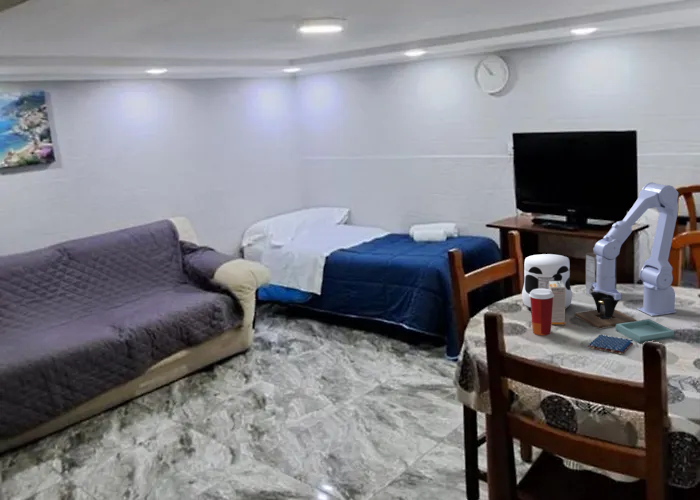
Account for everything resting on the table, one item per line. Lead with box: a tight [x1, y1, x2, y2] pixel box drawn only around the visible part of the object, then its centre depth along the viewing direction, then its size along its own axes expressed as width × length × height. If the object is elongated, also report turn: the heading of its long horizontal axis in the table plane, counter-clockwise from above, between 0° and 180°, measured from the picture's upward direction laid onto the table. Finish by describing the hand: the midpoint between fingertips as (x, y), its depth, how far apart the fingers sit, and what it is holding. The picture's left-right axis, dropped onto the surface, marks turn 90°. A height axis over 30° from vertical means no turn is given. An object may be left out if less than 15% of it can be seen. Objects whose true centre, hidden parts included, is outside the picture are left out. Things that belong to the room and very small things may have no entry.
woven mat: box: [587, 334, 634, 355], centre depth 198 cm, size 10×11×2 cm
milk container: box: [521, 253, 573, 310], centre depth 234 cm, size 17×17×18 cm
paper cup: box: [529, 289, 554, 336], centre depth 211 cm, size 8×8×14 cm
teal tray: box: [615, 318, 675, 344], centre depth 205 cm, size 12×12×2 cm
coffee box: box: [585, 251, 618, 298], centre depth 244 cm, size 9×6×16 cm
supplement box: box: [549, 281, 566, 325], centre depth 221 cm, size 8×5×13 cm, turn 168°
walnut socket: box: [574, 309, 637, 330], centre depth 220 cm, size 14×14×1 cm
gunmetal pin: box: [598, 299, 610, 320], centre depth 219 cm, size 4×4×7 cm
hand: (604, 314), depth 220 cm, fingers closed on gunmetal pin, 4 cm apart
